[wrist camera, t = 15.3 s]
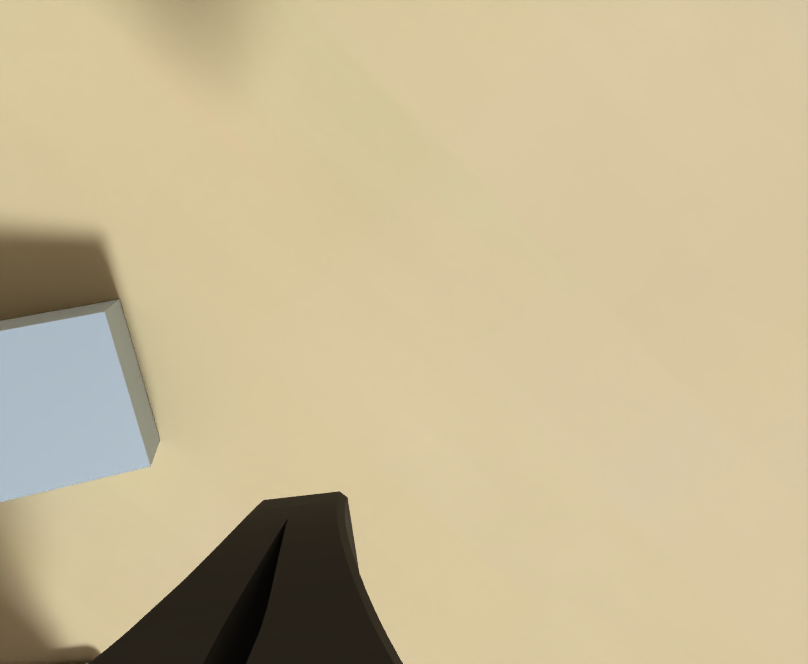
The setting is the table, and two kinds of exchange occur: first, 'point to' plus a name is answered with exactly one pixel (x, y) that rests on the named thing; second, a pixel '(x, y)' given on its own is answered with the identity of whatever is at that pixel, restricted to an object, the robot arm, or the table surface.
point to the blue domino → (70, 400)
